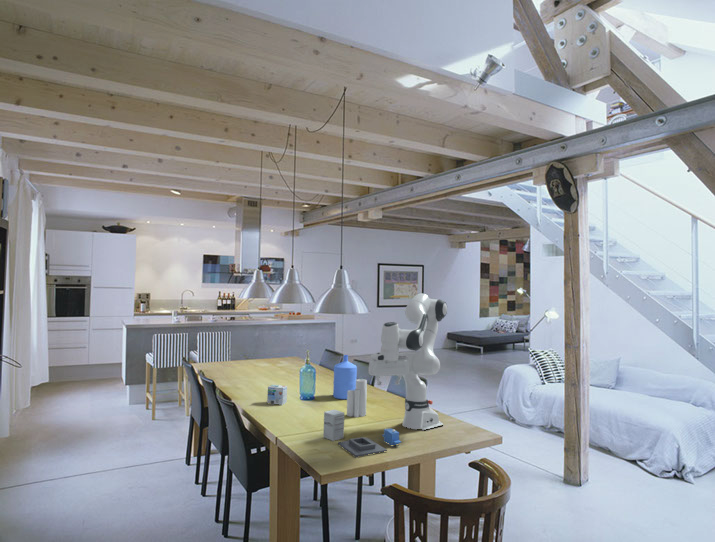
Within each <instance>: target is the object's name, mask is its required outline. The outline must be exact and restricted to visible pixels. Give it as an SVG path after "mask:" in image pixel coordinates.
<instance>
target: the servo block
mask: <svg viewBox="0 0 715 542" xmlns="http://www.w3.org/2000/svg"><path fill="white" fill-rule="evenodd" d="M381 437H383V442H384V441H385V442H387V443H389V444H390V445H396V444H399V445H400V444H402V441H401V440H400V431H397V430H396V429H393V428H392V427H390V428H384V429H383V434H381ZM385 442H384V443H385ZM387 443H386V444H387ZM389 444H388V445H389ZM390 445H389V446H390Z"/></svg>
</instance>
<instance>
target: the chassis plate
mask: <svg viewBox="0 0 715 542" xmlns="http://www.w3.org/2000/svg"><path fill="white" fill-rule="evenodd" d="M337 445H338V446H339V445H340V446H339V447H341V448H342V447H343V448H344V449H343V448H342V449H343V450H345V451H346V450H347V451H346V452H348V453H349V452H350V453H351V454H350V453H349V454H350V455H352V456H353V455H354V456H355V457H354V456H353V457H354V458H359V457H358V456H362V457H365V456H364V455H367V456H369V455H368V454H373V453H379V452H384V451H387V452H388V449H386V448H385V447H383V446H381V445H380V444H378V443H377V442H375V441H374V440H372V439H371V438H369V437H365V436H362V437H356V438H355V437H354V438H349V439H348V440H343V441H337ZM379 454H380V453H379ZM373 455H374V454H373Z"/></svg>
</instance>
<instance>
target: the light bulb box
mask: <svg viewBox="0 0 715 542" xmlns="http://www.w3.org/2000/svg"><path fill="white" fill-rule="evenodd" d="M266 397H267V399H266V404H267V403H271V404H270V405H274V404H279V405H278V406H283V404H284V405H286V404H287V403H288V401H287V397H288V385H281V384H280V385H279V384H270V385H269V386H268V387H267V396H266ZM286 402H287V403H286ZM285 403H286V404H285Z"/></svg>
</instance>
